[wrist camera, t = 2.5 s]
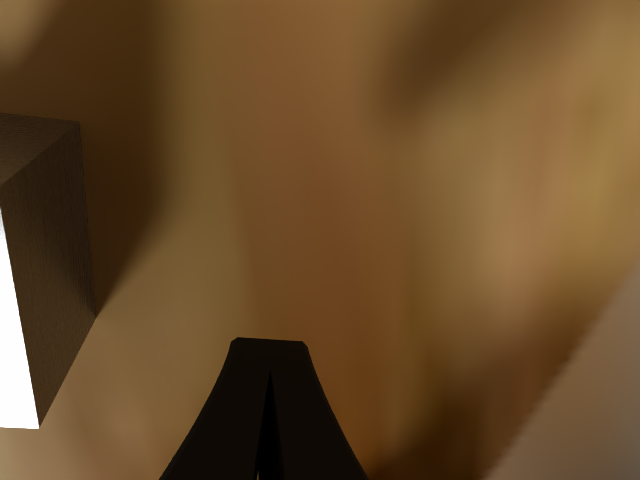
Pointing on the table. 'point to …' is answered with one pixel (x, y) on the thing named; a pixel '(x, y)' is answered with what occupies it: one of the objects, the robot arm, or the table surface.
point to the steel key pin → (41, 263)
